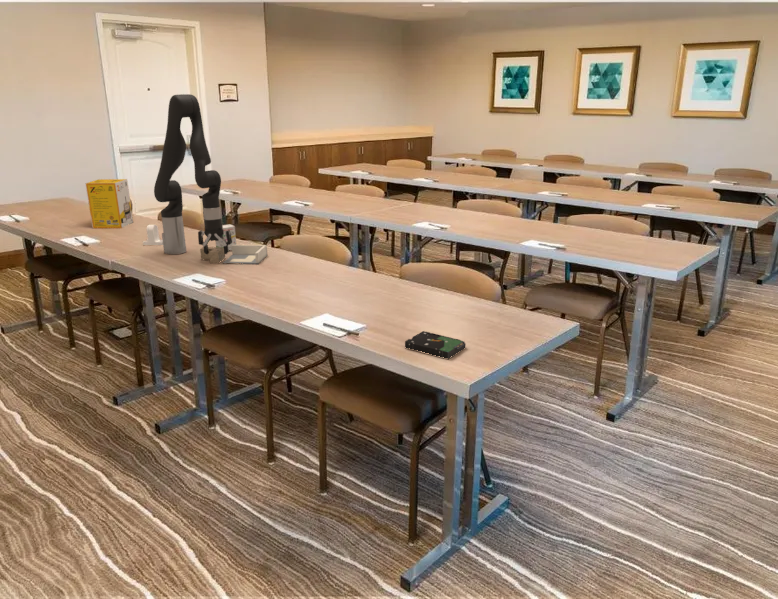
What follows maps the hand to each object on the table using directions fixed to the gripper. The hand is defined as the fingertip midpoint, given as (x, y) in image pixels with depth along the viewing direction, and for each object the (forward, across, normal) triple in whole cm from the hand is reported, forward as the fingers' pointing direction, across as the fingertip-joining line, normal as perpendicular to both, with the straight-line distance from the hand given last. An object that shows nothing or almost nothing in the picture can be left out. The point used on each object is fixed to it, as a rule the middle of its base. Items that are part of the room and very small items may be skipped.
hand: (216, 253), depth 275 cm
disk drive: (+7, +96, -93) cm, 134 cm away
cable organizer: (+3, -42, +31) cm, 53 cm away
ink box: (+4, -2, +20) cm, 21 cm away
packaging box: (+2, -86, +76) cm, 115 cm away
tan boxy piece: (+4, -3, +2) cm, 5 cm away
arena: (+4, +12, +4) cm, 13 cm away
